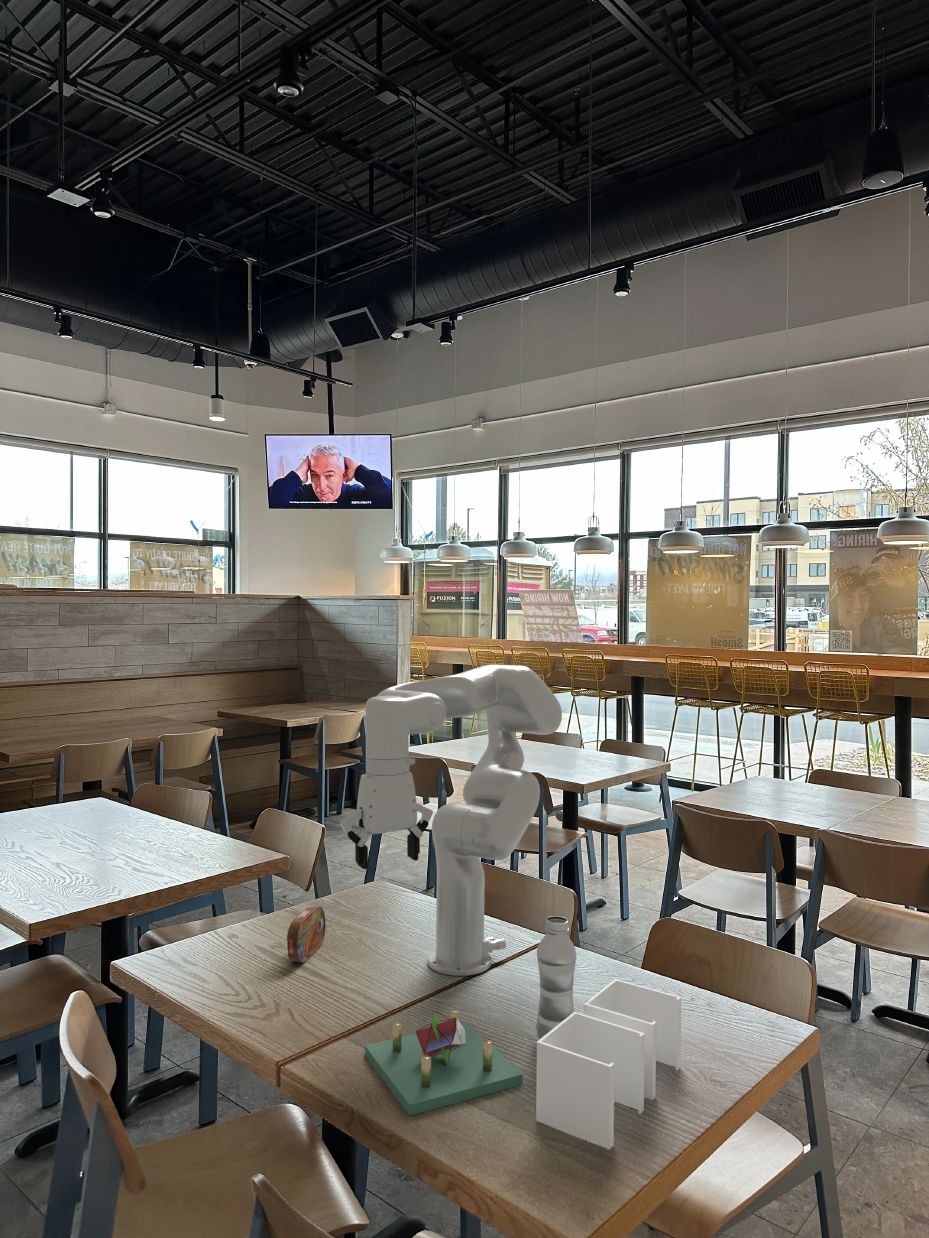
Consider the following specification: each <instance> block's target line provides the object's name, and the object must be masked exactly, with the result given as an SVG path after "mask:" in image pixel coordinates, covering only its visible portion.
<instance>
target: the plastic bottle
mask: <svg viewBox="0 0 929 1238" xmlns="http://www.w3.org/2000/svg"><path fill="white" fill-rule="evenodd" d="M544 931H545V932H546V933H545V935H544V936H543V937H542V939H541V940H540V942H539V943H538V945H537V949H536V958H537V965H538V972H539V974H538V975H539V988H540V989H539V1001H538V1002H539V1003H538V1004H539V1005H538V1012H537V1016H536V1017H537V1018H536V1025H535V1028H536V1034H537V1038H538V1041H539V1040H540V1039H541V1038H542V1037H544V1036H545V1035H546V1034H547V1033H549V1032H550V1031H551V1030H552V1029H554V1028H555V1027H556V1026H557V1025H559V1024H560V1023H561V1022H562V1021H564V1020H565V1019H566V1018H567V1017H569V1016H570V1015H571V1014H572V1013H574V1012H575V1008H574V995H573V993H574V979H575V977H574V975H575V970H576V962H577V951H576V948H575V945H574V943H573V941H572V940H571V938H570V937H569V936H568V933H569V931H570V927H569V919H568V918H567V917H564V916H559V915H551V916H547V917H546V918H545V926H544Z"/></svg>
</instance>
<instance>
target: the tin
mask: <svg viewBox="0 0 929 1238" xmlns="http://www.w3.org/2000/svg"><path fill="white" fill-rule="evenodd" d="M325 934H326V915H325V911H324V908H323V907H322V906H319V905H318V906H308V907H306V908H305V909H304V910H303V911H302V912H301V913H300V914H298V915H297V917H295V918H294V919H293V920H292V922H290V925H289V927H288V930H287V933H286V935H287V936H286V941H287V942H286V943H287V946H286V947H287V956H288V959H289V960H290V962H294V963H303V964H304V963H306V961H307V960H308V961H309V960H310V958H312V956H313V955H314V954H315V953H316V952H317V951H318V950H319V949H320V948H321V947H322V945H323V942H324V939H325ZM308 961H307V962H308Z"/></svg>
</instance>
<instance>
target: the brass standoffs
mask: <svg viewBox="0 0 929 1238" xmlns="http://www.w3.org/2000/svg"><path fill="white" fill-rule="evenodd" d="M460 1012H461V1011H460V1010H459V1009H451V1010H450V1019H451V1018H453V1019H454V1018H456V1017H457V1019H458V1020H459V1022H460V1021H461V1020H460V1014H461V1013H460ZM402 1028H403V1023H402V1022H400V1021H396V1022H393V1023H392V1039H393V1052H400V1051H401V1050H402V1037H403V1029H402ZM492 1046H493V1041H492V1040H490V1039H486V1040H485V1041H483V1070H484V1071H486V1072H490V1071H492ZM421 1086H422V1087H423V1088H429V1087H430V1086H431V1056H429V1055H423V1056H422V1057H421Z"/></svg>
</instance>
